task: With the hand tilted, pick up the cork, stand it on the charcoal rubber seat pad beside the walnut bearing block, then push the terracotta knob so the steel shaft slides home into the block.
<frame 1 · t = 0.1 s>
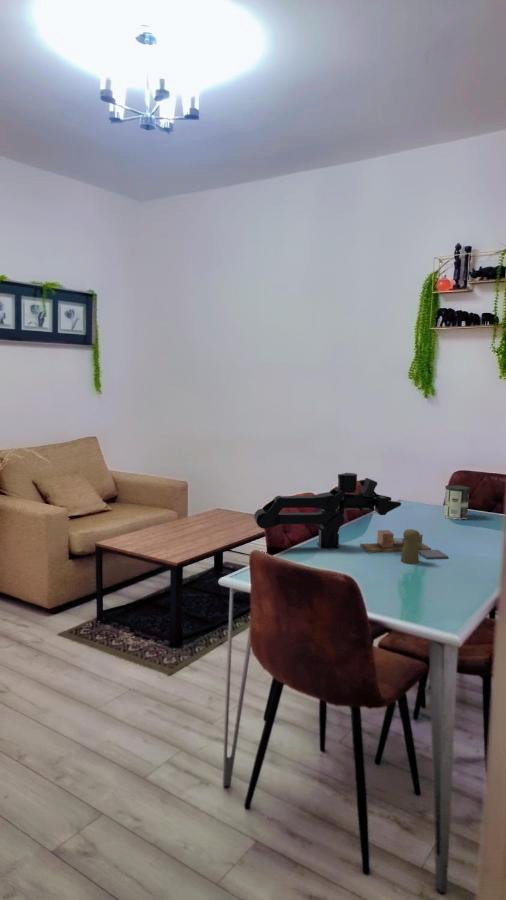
hand: (395, 501, 218), 17 cm above the table, tool horizontal, fingers open, 9 cm apart
cork: (409, 562, 201), on the table
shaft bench: (395, 548, 216), on the table
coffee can: (455, 517, 268), on the table
seat pad: (432, 555, 208), on the table
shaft: (393, 538, 215), point 4 cm above the table, slide at 0.0 cm
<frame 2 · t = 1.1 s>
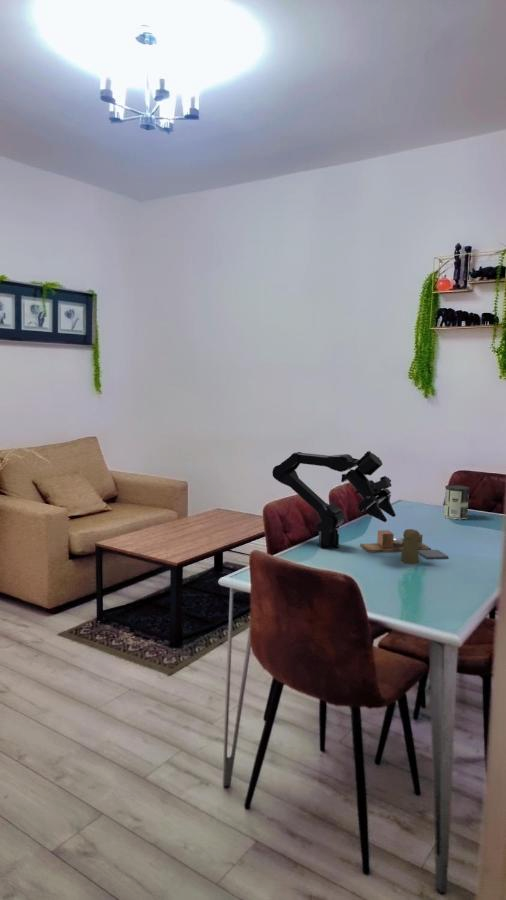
hand: (390, 518, 203), 14 cm above the table, tool tilted 45°, fingers open, 9 cm apart
nothing on the table moved.
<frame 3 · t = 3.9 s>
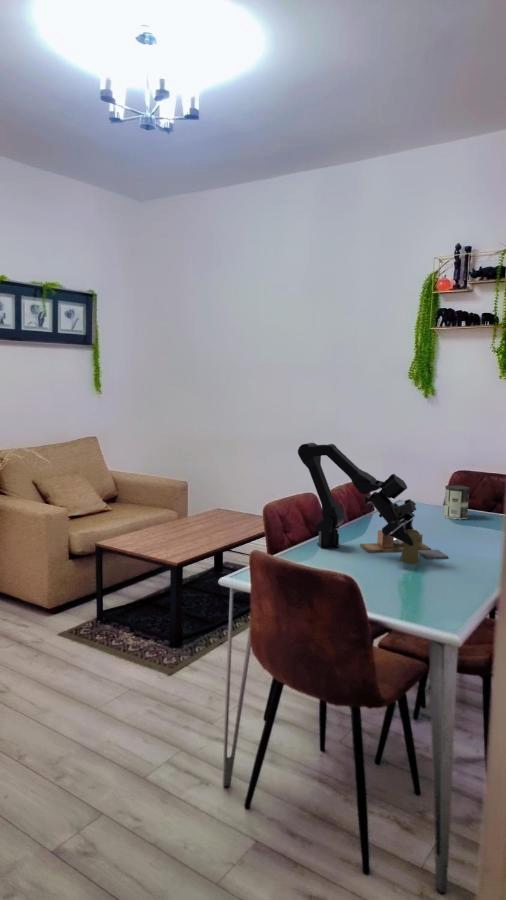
hand: (414, 543, 199), 7 cm above the table, tool tilted 45°, fingers closed on cork, 5 cm apart
cork: (409, 562, 201), on the table, touching gripper
everything else where it was.
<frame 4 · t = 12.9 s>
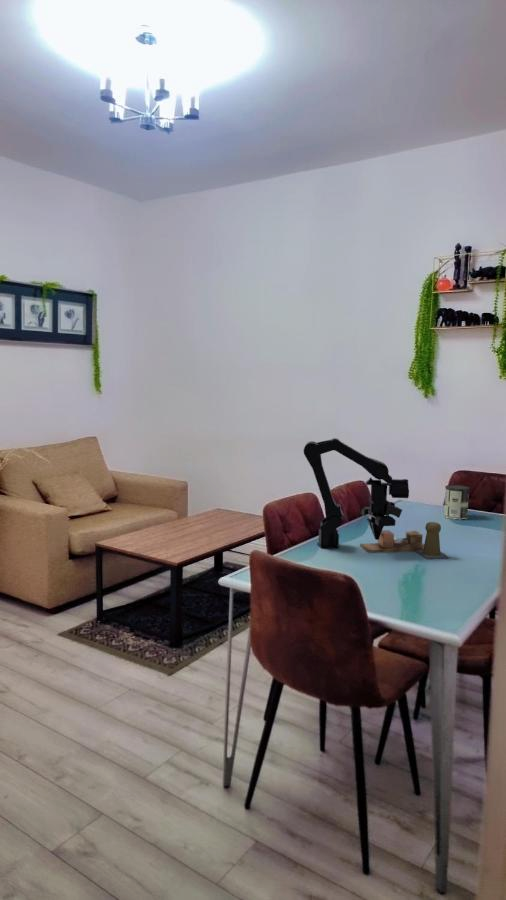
hand: (376, 539, 214), 4 cm above the table, tool pointing down, fingers closed, pressing on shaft
cork: (431, 553, 208), point 1 cm above the table, touching seat pad
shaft: (393, 538, 215), point 4 cm above the table, slide at 0.2 cm, touching gripper
everything else where it was.
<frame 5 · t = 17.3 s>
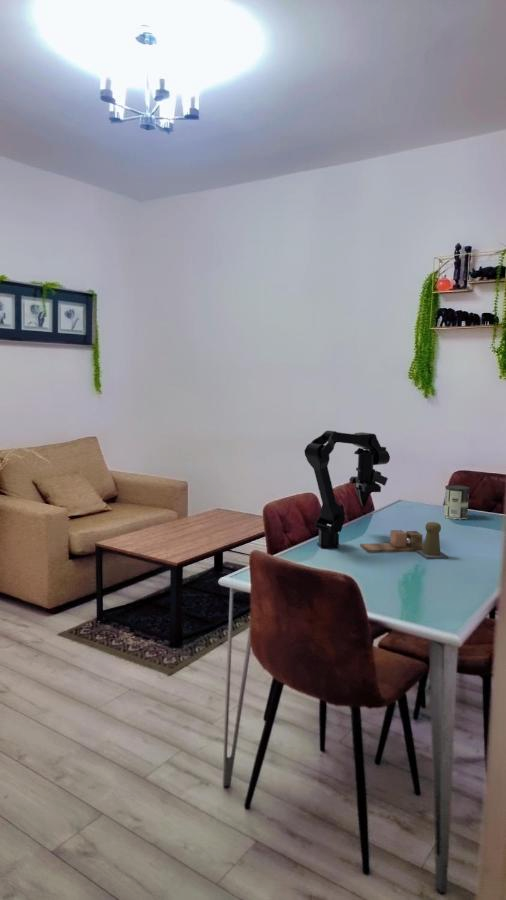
hand: (363, 506, 225), 13 cm above the table, tool pointing down, fingers closed
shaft: (405, 538, 216), point 4 cm above the table, slide at 4.9 cm
everything else where it was.
at the end: cork inside the target area (0.2 cm from its centre), point 0.6 cm above the table; cork tilted 0°; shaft slide at 4.9 cm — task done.
